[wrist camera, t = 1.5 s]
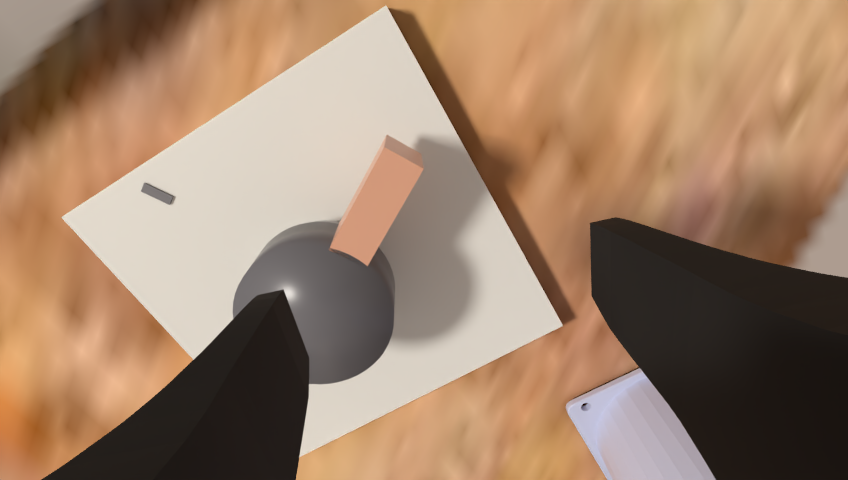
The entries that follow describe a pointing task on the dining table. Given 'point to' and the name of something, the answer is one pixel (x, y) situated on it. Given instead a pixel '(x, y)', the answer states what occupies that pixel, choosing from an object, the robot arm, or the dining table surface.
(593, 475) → the dining table surface
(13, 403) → the dining table surface
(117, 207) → the joystick base
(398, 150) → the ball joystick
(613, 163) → the dining table surface
